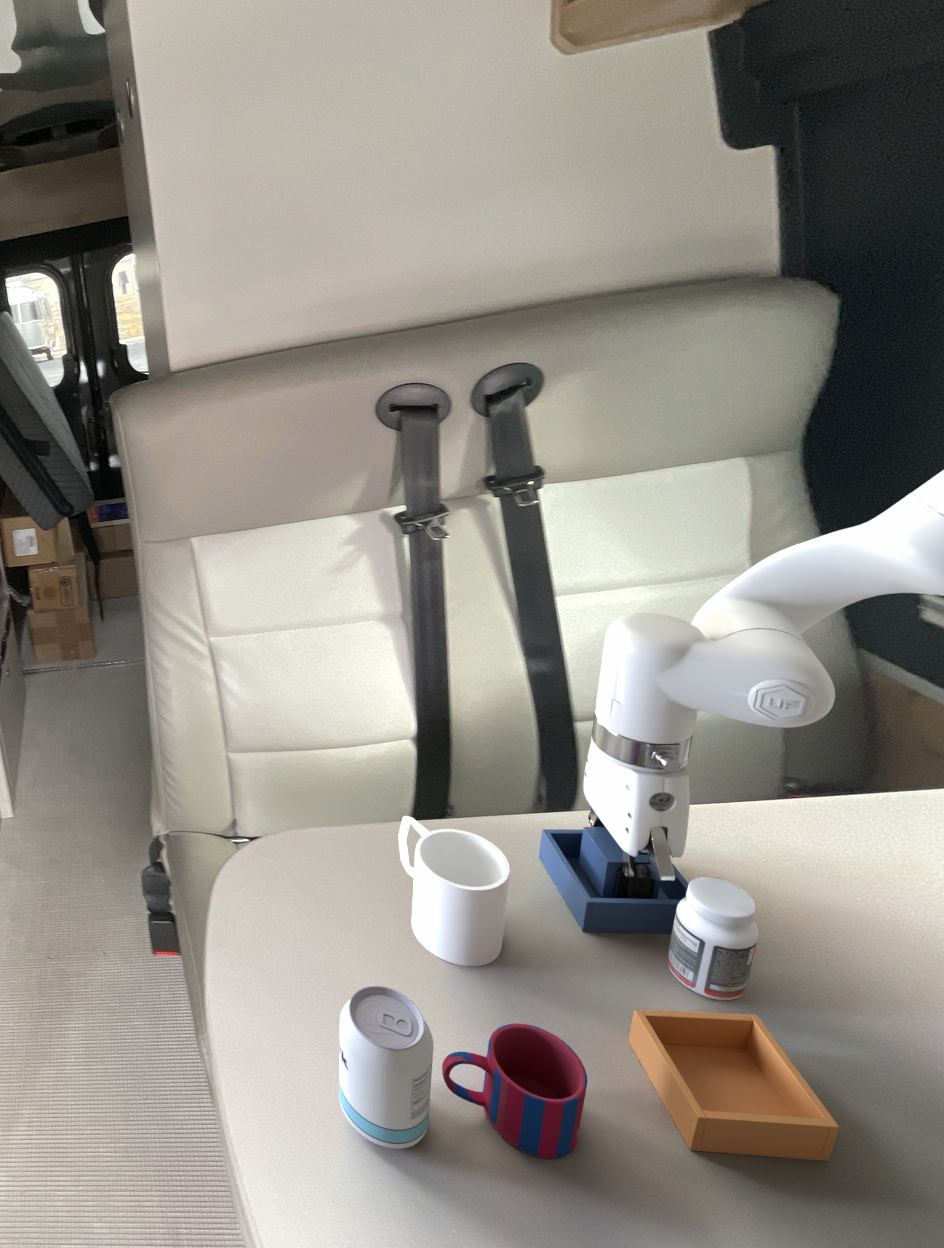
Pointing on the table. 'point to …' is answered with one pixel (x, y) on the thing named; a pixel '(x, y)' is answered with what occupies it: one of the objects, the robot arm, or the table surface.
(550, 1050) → the cup
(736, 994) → the pill bottle
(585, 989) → the table surface
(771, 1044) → the tan bin
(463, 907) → the cup
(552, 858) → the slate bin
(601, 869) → the block
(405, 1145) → the beverage can
